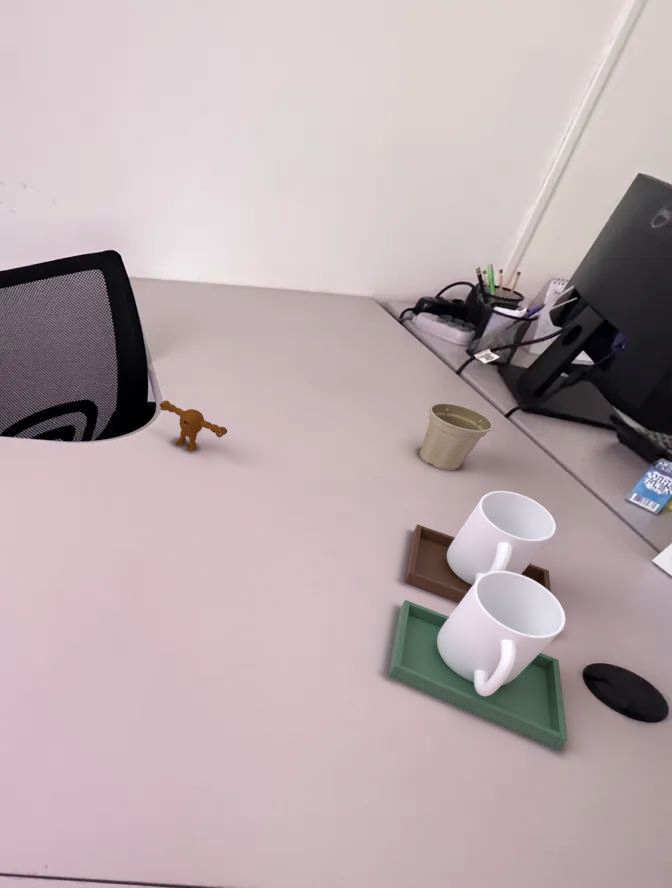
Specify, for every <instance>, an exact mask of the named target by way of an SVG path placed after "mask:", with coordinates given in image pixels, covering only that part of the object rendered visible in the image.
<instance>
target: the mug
mask: <svg viewBox="0 0 672 888" xmlns="http://www.w3.org/2000/svg"><path fill="white" fill-rule="evenodd" d="M556 524H557V523H556V521H555V519H554V517H553V515H552V514H551V512H550V511H549V510H548V509H546V508H545V506H543V505H542V504H541V503H539V502H537V501H536V500H534V499H532V498H530V497H528V496H526V495H523V494H521V493H517V492H513V491H508V490H495V491H491V492H488V493H486V494H484V495H483V496H482V497H481V498H480V500H479V502H478V503H477V504H476V505H475V508H474V509H473V510H472V511H471V513H470V514H469V516H468V518H467V519H466V521H465V522H464V523H463V524H462V525H463V526H462V527H461V528H460V529H459V531H458V533H457V534H456V535H455V536H454V537H455V539H454V540H453V542H452V543H451V545H450V547H449V549H448V551H447V561H448V564H449V566H450V568H451V569H452V570H453V572H454V573H455V574H456V575H457V576H458V577H459V578H461V579H462V580H463V581H465V582H466V583H468V584H470V585H472V586H473V584H474V583H475V582H476V580H477V579H478V578H479V577H480V576H482V575H483V574H485V573H488V572H492V571H508V572H513V573H517V574H520V575H521V574H522V573H523V571H524V570H525V569H526V568H527V566H528V565H529V564H532V562H533V561H534V559H535V558H536V557H537V556H538V555H539V553H540V552H541V551H542V549H544V547H545V546H546V545H547V544H548V542H549V541H550V540H551V539H552V538H553V537H554V535H555V533H556V530H557V525H556Z"/></svg>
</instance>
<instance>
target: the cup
mask: <svg viewBox="0 0 672 888" xmlns="http://www.w3.org/2000/svg"><path fill="white" fill-rule="evenodd" d="M448 617H449V618H448V619H447V621H446V622H445V623H444V625H443V626H442V628H441V629H440V631H439V634H438V637H437V646H438V650H439V653H440V655H441V657H442V659H443V660H444V662H445V663H446V664H447V665H448V666H449V667H450V668H451V669H452V670H453V671H454V672H455V673H456V674H458V675H459V676H461V677H462V678H464V679H466V680H468V681H470V682H472V683H474V686H475V689H476V691H477V693H478V694H480V695H481V696H489V695H491V694H493V693H494V692H495V691H496V690H497V689H498V688H499V687H500V686H501V685H505V684H507V683H509V682H511V681H512V680H513V679H515V678H516V677H517V676H518V675H519V674H520V673H521V672H522V671H523V670H524V669H525V668H526V667H527V666H528V665H529V664H530V663H531V662H532V661H533V660H534V659H535V658H536V657H537V655H538V654H539V653H542V652H543V650H544V649H545V648H546V647H547V646H549V644H551V642H552V641H554V639H555V638H556V637H557V636H558V635H559V634H560V633H561V632H562V631H563V629H564V628H565V626H566V613H565V610H564V608H563V606H562V605H561V603H560V601H559V600H558V598H557V597H556V596H555V595H554V594H553V593H552V591H551V592H550V591H549V590H547V589H546V588H545V587H543V586H542V585H541V584H539V583H537V582H536V581H534V580H532V579H530V578H528V577H526V576H523V575H520V574H517V573H513V572H508V571H492V572H488V573H485V574H483V575H482V576H480V577H479V578H478V579H477V580H476V582H475V583H474V584H473V586H472V587H471V589H470V590H469V591H468V593H467V594H466V595H465V597H464V598H463V599H462V601H461V602H460V603H458V605H457V606H456V607H455V609H454V610H453V611H452V613H451V614H450V615H449V616H448Z"/></svg>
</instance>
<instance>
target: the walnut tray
mask: <svg viewBox="0 0 672 888" xmlns="http://www.w3.org/2000/svg"><path fill="white" fill-rule="evenodd" d="M455 537H456V536H453V535H449V534H446V533H444V532H441V531H437V530H435V529H432V528H430V527H426V526H424V525H420V524H416V526H415V528H414V529H413V532H412V533H411V539H410V546H409V551H408V557H407V561H406V562H407V563H406V568H405V573H404V574H405V575H404V580H403V583H404V584H407V585H409V586H412V587H415V588H418V589H419V590H422V591H425V592H427V593H429V594H433V595H435V596H438V597H441V598H443V599H446V600H448V601H451V602H453V603H456V604H459V603H460V602H461V601H462V599H463V598H464V597H465V595H466V594H467V593H468V591H469V590H470V589H471V587H472V585H470V584H468V583H466V582H465V581H463V580H462V579H461V578H459V577H458V576H457V575H456V574H455V573H454V572H453V570H452V569H451V568H450V566H449V564H448V561H447V551H448V549H449V547H450V545H451V543H452V542H453V540H454V539H455ZM521 575H523V576H526V577H528V578H530V579H532V580H534V581H536V582H537V583H539V584H541V585H542V586H543V587H545V588H546V589H547V590H549V591H550V592H551V593H552V588H551V579H550V570H548V569H546V568H543V567H541V566H538V565H534V564H532V563H530V564H529V565H528V566H527V568H526V569H525V570H524V571H523V573H522V574H521Z"/></svg>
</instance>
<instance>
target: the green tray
mask: <svg viewBox="0 0 672 888" xmlns="http://www.w3.org/2000/svg"><path fill="white" fill-rule="evenodd" d="M401 604H402V605H401V606H400V608H399V609H398V610H399V611H398V616H397V621H396V628H395V633H394V638H393V639H394V640H393V646H392V651H391V657H390V663H389V669H388V674H387V676H388V678H391V679H393V680H395V681H398V682H400V683H402V684H404V685H406V686H409V687H412V688H414V689H416V690H419V691H420V692H423V693H425V694H427V695H430V696H432V697H435V698H437V699H439V700H441V701H444V702H445V703H448V704H450V705H453V706H455V707H457V708H459V709H462V710H464V711H467V712H469V713H471V714H474V715H475V716H478V717H480V718H482V719H485V720H487V721H490V722H492V723H494V724H497V725H498V726H501V727H503V728H505V729H508V730H510V731H513V732H514V733H517V734H520V735H521V736H524V737H526V738H529V739H531V740H533V741H535V742H537V743H540V744H542V745H544V746H547V747H548V748H552V749H553V750H556V751H559V750H560V749H561V748H562V747H563V745H564V744H565V743H566V742H567V741H568V735H567V726H566V719H565V718H566V715H565V707H564V699H563V697H564V696H563V688H562V679H561V671H560V670H561V669H560V662H559V661H560V660H559V659H557V658H555V657H552V656H550V655H547V654H545V653H542V652H540V653H539V654H538V655H537V657H536V658H535V659H534V660H533V661H532V662H531V663H530V664H529V665H528V666H527V667H526V668H525V669H524V670H523V671H522V672H521V673H520V674H519V675H518V676H517V677H516V678H515V679H513V680H512V681H511V682H509V683H507V684H505V685H501V686H500V687H499V688H498V689H497V690H496V691H495V692H494V693H493V694H491V695H489V696H481V695H480V694H478V693H477V691H476V689H475V686H474V683H472V682H470V681H468V680H466V679H464V678H462V677H461V676H459V675H458V674H456V673H455V672H454V671H453V670H452V669H451V668H450V667H449V666H448V665H447V664H446V663H445V662H444V660H443V659H442V657H441V655H440V653H439V650H438V646H437V637H438V634H439V631H440V629H441V628H442V626H443V625H444V623H445V622H446V621H447V619H448V618H449V617H450V616H448V615H446V614H443V613H440V612H438V611H435V610H433V609H430V608H428V607H425V606H423V605H420V604H418V603H415V602H412V601H409V600H407V599H404V601H403V603H401Z"/></svg>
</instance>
